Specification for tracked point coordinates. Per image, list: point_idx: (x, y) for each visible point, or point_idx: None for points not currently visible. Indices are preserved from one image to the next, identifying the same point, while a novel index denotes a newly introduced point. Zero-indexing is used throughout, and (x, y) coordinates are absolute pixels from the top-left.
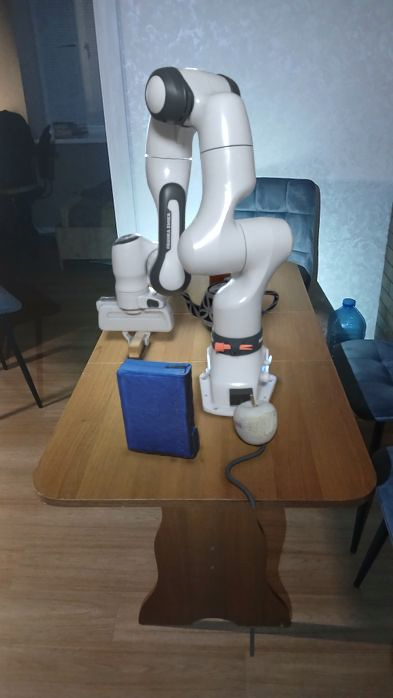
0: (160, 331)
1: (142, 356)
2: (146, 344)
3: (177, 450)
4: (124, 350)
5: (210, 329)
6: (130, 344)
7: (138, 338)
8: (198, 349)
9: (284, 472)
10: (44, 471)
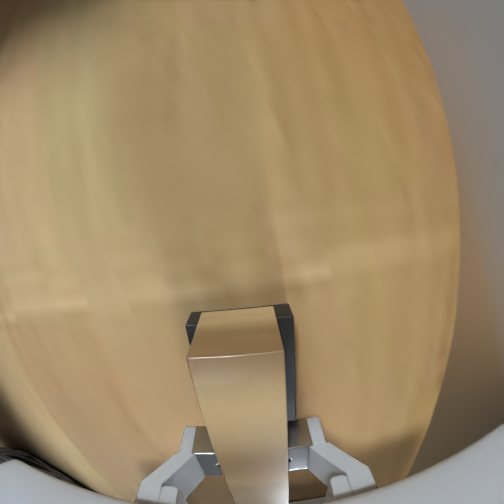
0: (51, 477)
1: (189, 337)
2: (188, 429)
3: None
4: (338, 395)
5: (75, 484)
6: (278, 396)
7: (247, 464)
8: (32, 402)
9: None
10: None
